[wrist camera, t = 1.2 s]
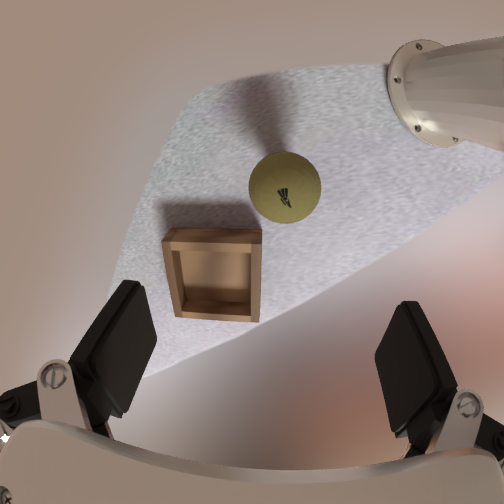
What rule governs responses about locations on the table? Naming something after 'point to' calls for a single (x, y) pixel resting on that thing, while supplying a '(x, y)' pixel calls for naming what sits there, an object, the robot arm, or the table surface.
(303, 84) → the table surface
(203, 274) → the open wooden box
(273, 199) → the light bulb
